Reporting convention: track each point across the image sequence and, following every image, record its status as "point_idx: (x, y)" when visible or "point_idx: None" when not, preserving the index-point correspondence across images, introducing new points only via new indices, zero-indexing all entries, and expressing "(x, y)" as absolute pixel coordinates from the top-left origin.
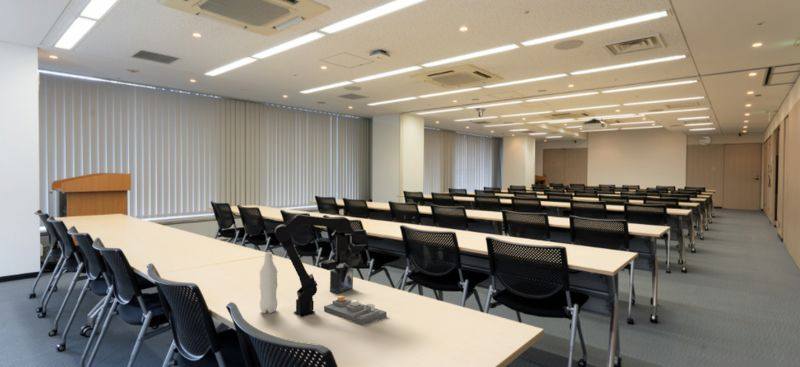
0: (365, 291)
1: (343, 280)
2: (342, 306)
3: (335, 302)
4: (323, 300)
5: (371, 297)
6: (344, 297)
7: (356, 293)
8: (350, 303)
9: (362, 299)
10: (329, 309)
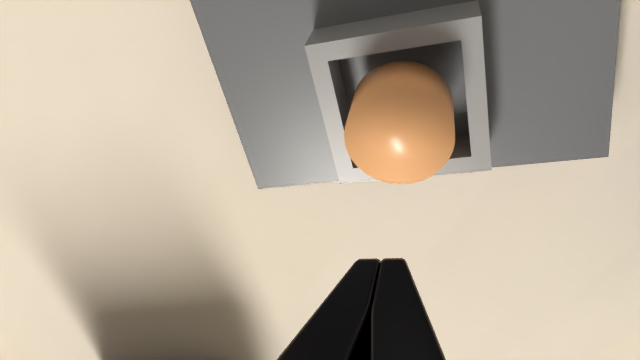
0: (26, 291)
1: (366, 286)
2: (439, 5)
3: (487, 115)
4: None
5: (6, 161)
6: (369, 93)
7: (104, 298)
8: (292, 46)
9: (97, 166)
10: (610, 49)
